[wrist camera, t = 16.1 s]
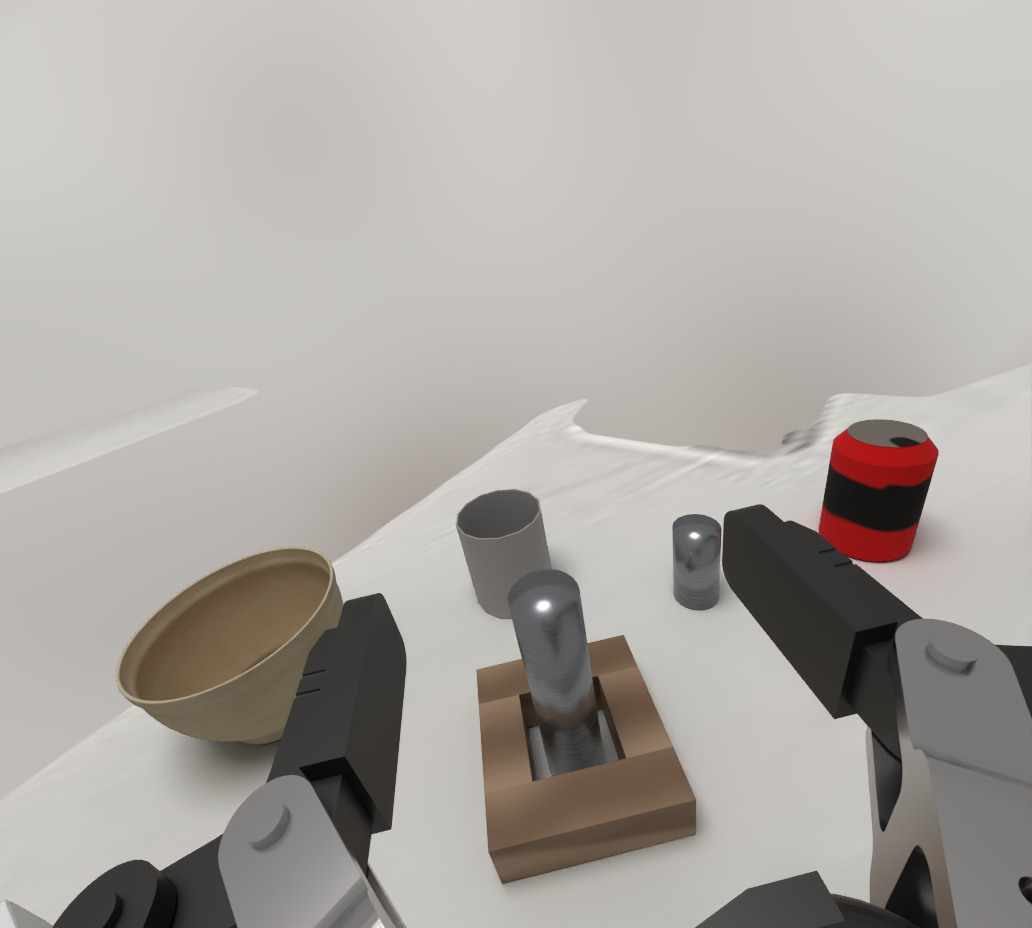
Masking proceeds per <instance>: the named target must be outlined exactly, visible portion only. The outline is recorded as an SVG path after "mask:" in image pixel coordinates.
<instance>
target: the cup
mask: <svg viewBox="0 0 1032 928" xmlns="http://www.w3.org/2000/svg"><path fill="white" fill-rule="evenodd" d="M456 527H457V530H458V534H459V537H460V541H461V544H462V548H463V551H464V555H465V558H466V561H467V565H468V568H469V572H470V575H471V579H472V582H473V586H474V589H475V592H476V596H477V599H478V602H479V604H480V605H481V607H482V608H483V609H484V611H485V612H486V613H488V614H490V615H493V616H495V617H497V618H499V619H512V616H511V612H510V608H509V604H508V595H509V591H510V589H511V588H512V586H513V585H514V584H515V582H516V581H518V580H519V579H520V578H521V577H523V576H525V575H527V574H529V573H531V572H534V571H539V570H552V569H551V564H550V558H549V552H548V547H547V541H546V536H545V530H544V525H543V519H542V514H541V508H540V503H539V499H537V498H536V497H535V496H533V495H532V494H531V493H529V492H525V491H521V490H516V489H509V490H497V491H493V492H490V493H487V494H483V495H480V496H478V497H477V498H475V499H473V500H472V501H470V502H468V503H467V504H465V506H464V507H463V508H462V509H461V511H460V512H459V513H458V514H457V521H456Z"/></svg>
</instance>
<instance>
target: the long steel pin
mask: <svg viewBox="0 0 1032 928" xmlns="http://www.w3.org/2000/svg"><path fill="white" fill-rule="evenodd" d="M508 604H509V608H510V612H511V616H512V620H513V624H514V628H515V632H516V636H517V640H518V644H519V648H520V652H521V656H522V660H523V664H524V668H525V672H526V676H527V680H528V684H529V689H530V693H531V697H532V701H533V705H534V709H535V713H536V717H537V721H538V725H539V729H540V733H541V737H542V741H543V745H544V749H545V753H546V757H547V761H548V765H549V769H550V772H551V774H552V776H557V775H561V774H565V773H569V772H573V771H577V770H581V769H585V768H589V767H593V766H597V765H601V764H604V754H603V747H602V740H601V734H600V727H599V720H598V713H597V706H596V700H595V693H594V686H593V679H592V672H591V666H590V659H589V652H588V645H587V639H586V632H585V625H584V618H583V611H582V605H581V598H580V591H579V587H578V584H577V582H576V581H575V580H574V579H573V578H572V577H571V576H570V575H568V574H566V573H564V572H561V571H557V570H539V571H534V572H531V573H529V574H527V575H525V576H523V577H521V578H520V579H519V580H518V581H516V582H515V584H514V585H513V586H512V588H511V589H510V591H509V595H508Z"/></svg>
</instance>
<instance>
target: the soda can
mask: <svg viewBox="0 0 1032 928" xmlns="http://www.w3.org/2000/svg"><path fill="white" fill-rule="evenodd" d="M938 454H939V453H938V449H937V447H936V446H935V445H934V443H933V442H932V441H931V440H930V438H929V437H928V435H927V433H926V432H925V431H924V430H923V429H921V428H919V427H917V426H914V425H912V424H908V423H904V422H900V421H893V420H866V421H860V422H857V423H854V424H852V425H851V426H849V428H848V429H846V430H845V431H844V432H842V433H841V434H839V435H838V436H837V437H836V438H835V439H834V441H833V446H832V452H831V458H830V464H829V470H828V476H827V482H826V488H825V494H824V500H823V506H822V512H821V518H820V524H819V533H820V535H821V536H822V537H823V538H825V539H826V540H827V541H828V542H830V543H831V544H832V545H833V546H834V547H836V550H837V551H841V552H842V553H843V554H844V555H847V556H849V557H852V558H856V559H860V560H865V561H873V562H883V561H891V560H894V559H898V558H901V557H903V556H905V555H906V554H907V553H908V552H909V551H910V550H911V547H912V544H913V541H914V537H915V534H916V530H917V527H918V523H919V520H920V517H921V513H922V510H923V506H924V503H925V499H926V496H927V492H928V489H929V485H930V482H931V478H932V475H933V472H934V468H935V465H936V461H937V458H938Z"/></svg>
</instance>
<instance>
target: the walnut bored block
mask: <svg viewBox="0 0 1032 928" xmlns="http://www.w3.org/2000/svg"><path fill="white" fill-rule="evenodd" d="M587 645H588V652H589V659H590V666H591V672H592V679H593V686H594V693H595V700H596V706H597V711H598V710H602V709H603V711H604V715H605V718H606V721H607V724H608V727H609V730H610V733H611V736H612V739H613V742H614V745H615V748H616V751H617V754H618V757H619V760H617V761H613V762H609V763H605V764H601V765H597V766H593V767H589V768H585V769H581V770H577V771H573V772H569V773H565V774H561V775H557V776H553V777H549V778H545V779H541V780H537V781H536V776H535V769H534V763H533V757H532V751H531V745H530V739H529V732H528V727H533V726H537V725H538V721H537V717H536V713H535V709H534V705H533V701H532V697H531V693H530V689H529V684H528V680H527V676H526V672H525V668H524V664H523V660H522V659H520V660H516V661H511V662H507V663H503V664H499V665H495V666H490V667H486V668H482V669H478V670H477V684H478V699H479V715H480V730H481V745H482V760H483V775H484V790H485V806H486V821H487V836H488V851H489V854H490V857H491V859H492V861H493V864H494V866H495V868H496V871H497V873H498V875H499V878H500V880H501V883H502V884H504V883H508V882H512V881H515V880H519V879H523V878H527V877H531V876H535V875H539V874H543V873H547V872H551V871H554V870H558V869H562V868H566V867H570V866H574V865H578V864H582V863H586V862H590V861H594V860H597V859H601V858H605V857H609V856H613V855H617V854H621V853H625V852H629V851H633V850H637V849H640V848H644V847H648V846H652V845H656V844H660V843H664V842H668V841H672V840H676V839H679V838H683V837H687V836H691V835H695V829H696V798H695V796H694V794H693V792H692V789H691V787H690V785H689V783H688V780H687V778H686V776H685V773H684V771H683V769H682V767H681V764H680V762H679V760H678V757H677V755H676V753H675V751H674V748H673V746H672V744H671V742H670V739H669V737H668V735H667V732H666V730H665V728H664V726H663V723H662V721H661V719H660V717H659V714H658V712H657V710H656V707H655V705H654V703H653V701H652V698H651V696H650V694H649V692H648V689H647V687H646V685H645V682H644V680H643V678H642V676H641V673H640V671H639V669H638V667H637V664H636V662H635V660H634V657H633V655H632V653H631V651H630V648H629V646H628V644H627V642H626V639H625V637H624V635H621V636H617V637H613V638H608V639H604V640H600V641H596V642H592V643H587Z"/></svg>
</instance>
